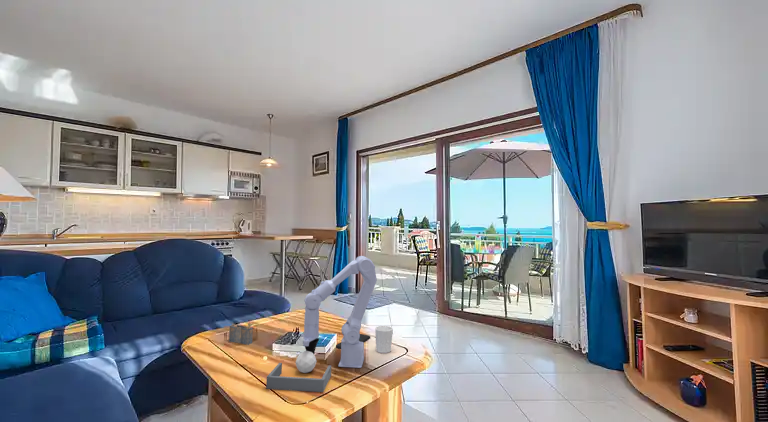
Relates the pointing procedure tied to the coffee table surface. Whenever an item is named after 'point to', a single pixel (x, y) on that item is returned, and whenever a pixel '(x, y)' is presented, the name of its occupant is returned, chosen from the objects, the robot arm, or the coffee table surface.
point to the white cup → (383, 339)
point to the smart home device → (362, 339)
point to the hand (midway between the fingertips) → (310, 358)
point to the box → (296, 381)
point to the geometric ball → (305, 361)
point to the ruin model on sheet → (241, 334)
